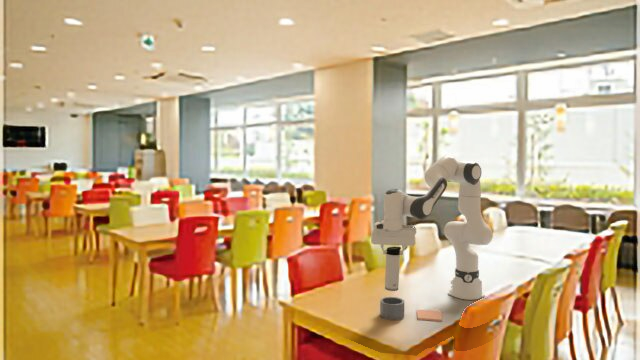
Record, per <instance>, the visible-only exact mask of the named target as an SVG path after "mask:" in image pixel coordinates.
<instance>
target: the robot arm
mask: <svg viewBox="0 0 640 360" xmlns="http://www.w3.org/2000/svg"><path fill="white" fill-rule="evenodd" d="M481 177H482V168H481V166H480V164H479V163H477V162H475V161H466V160H459V161H458V160H457V159H456V158H454V157H453V156H451V155H444V156H442V157H440V158H439V159H437V160H436V161H434V163H433V164H432V165H430V166H429V168H427V170H426V171H425V173H424V181H425V183H426V185H427V186H428V187H429V188H430V189H429V190H428V191H427V193H426V194H425V195H422V196H415V195H414V196H412V195H408V194H407V193H405V192H403V191H402V190H401V189H399V188H393V189H389V190H387V191H386V192H385V193H384V197H383V212H384V214H383V220H380V221H376V222H375V223H374V224H373V229H372V232H371V238H370V243H371V244H372V245H380V248H381V250H382V254H383V255H386V252H387V249H385V246H402V248H401V249H400V256H402V255H403V256H404V251H405V250H406V248H407V246H410V247H414V246H415V245H416V234H417V228H416V226H414V225H413V224H410V225H409V224H404V217H403V216H405V217H409V218H415V219H418V220H420V221H421V220H426V219H427V218H428V217H430V215H431V213H432V211H433V209H434V207H435V206H436V205H437V203H438V201H439V200H440V198H442V196H443V194H444V193H445V191H446V190H447V186H448V182H449V183H458V184H459V188H458V200H457V201H458V202H457V210H458V211H459V213H460V214H462V215H463V216H464V218H465V220H466V221H460V220H459V221H458V220H454V221H449V222H447V223H446V224H445V226H444V229H443V232H444V236H445V238H446V239H447V240H448V241H449V242H450V244H451V245H452V247H453V250H454V253H455V268H454V275H455V276H454V277H453V278H452V279H450V288H449V289H448V293H447V295H449V296H452V297H455V298H457V299H461V300H466V301H467V300H470V301H471V300H472V301H473V300H479V299H481V298H486V294H485V293H484V292H483V284H482V283H483V282H482V280H481V279H480V278H479V277H480V270H479V255H478V253H477V252H476V251H475V250H473V249H472V247H471V246H470V245H474V246H487V245H489V244H490V243H491V242H492V240H493V236H494V235H493V230H492V228H491V227H490V226H489V225H488V224H487V223H486V221H485V219H484V218H483V214H482V211H481V206H482V205H481V204H482V203H481V200H482V199H481V198H482V197H481V196H482V189H481V182H480V181H481V180H480V179H481Z"/></svg>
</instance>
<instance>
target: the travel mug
mask: <svg viewBox="0 0 640 360" xmlns="http://www.w3.org/2000/svg"><path fill="white" fill-rule="evenodd" d="M400 250H402V247H401V246H389V247H387V248H386V254H385V255H386V256H385V273H384V275H385V276H384V290H386V291H388V292H396V291H397V292H398V290H399V285H400V284H399V283H400V262H401V261H400V260H401V255H400Z"/></svg>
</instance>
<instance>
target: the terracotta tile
mask: <svg viewBox="0 0 640 360" xmlns="http://www.w3.org/2000/svg"><path fill="white" fill-rule="evenodd" d="M416 311H417V313H416V314H417V321H418V320H420V321H431V322H432V321H435V322H443V316H442V311H441V310H431V309H417V310H416Z"/></svg>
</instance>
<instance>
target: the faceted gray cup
mask: <svg viewBox="0 0 640 360" xmlns="http://www.w3.org/2000/svg"><path fill="white" fill-rule="evenodd" d="M379 302H380V303H379V307H380V308H379V309H380V311H379V313H380V314H379V315H380V317H381V318H382V319H386V320H390V321H399V320H402V319H404V318H405V299H403V298H400V297H398V296H385V297H382V298H380V301H379Z"/></svg>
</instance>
